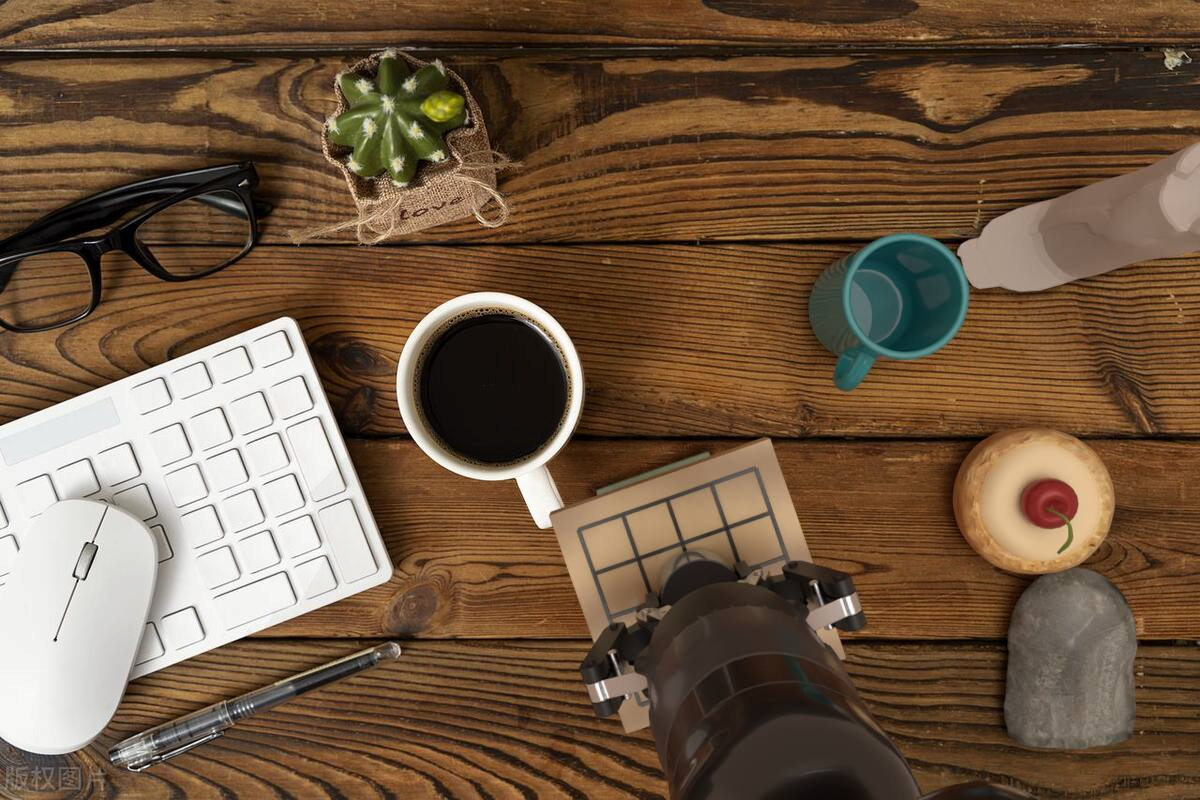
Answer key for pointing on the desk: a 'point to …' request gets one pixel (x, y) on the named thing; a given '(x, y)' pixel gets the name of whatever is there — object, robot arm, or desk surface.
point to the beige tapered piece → (1092, 229)
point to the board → (677, 535)
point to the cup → (888, 304)
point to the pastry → (1033, 500)
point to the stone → (1071, 663)
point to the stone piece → (692, 574)
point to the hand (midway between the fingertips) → (700, 593)
